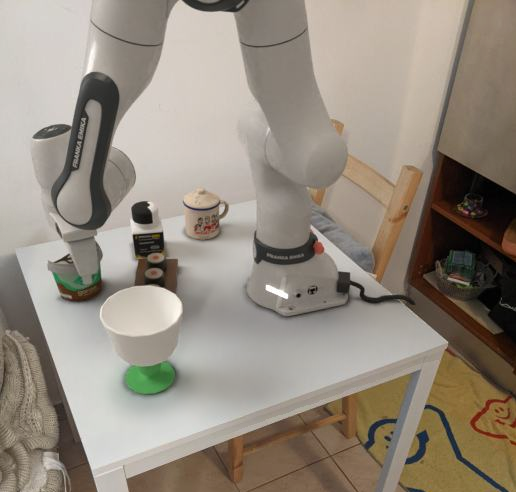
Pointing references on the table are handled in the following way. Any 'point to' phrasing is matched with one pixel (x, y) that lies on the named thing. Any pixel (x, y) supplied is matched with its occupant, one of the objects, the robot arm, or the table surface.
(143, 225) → the medicine bottle
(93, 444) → the table surface
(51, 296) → the table surface
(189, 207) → the teacup with lid
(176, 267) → the sushi board
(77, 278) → the food container
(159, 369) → the cup
